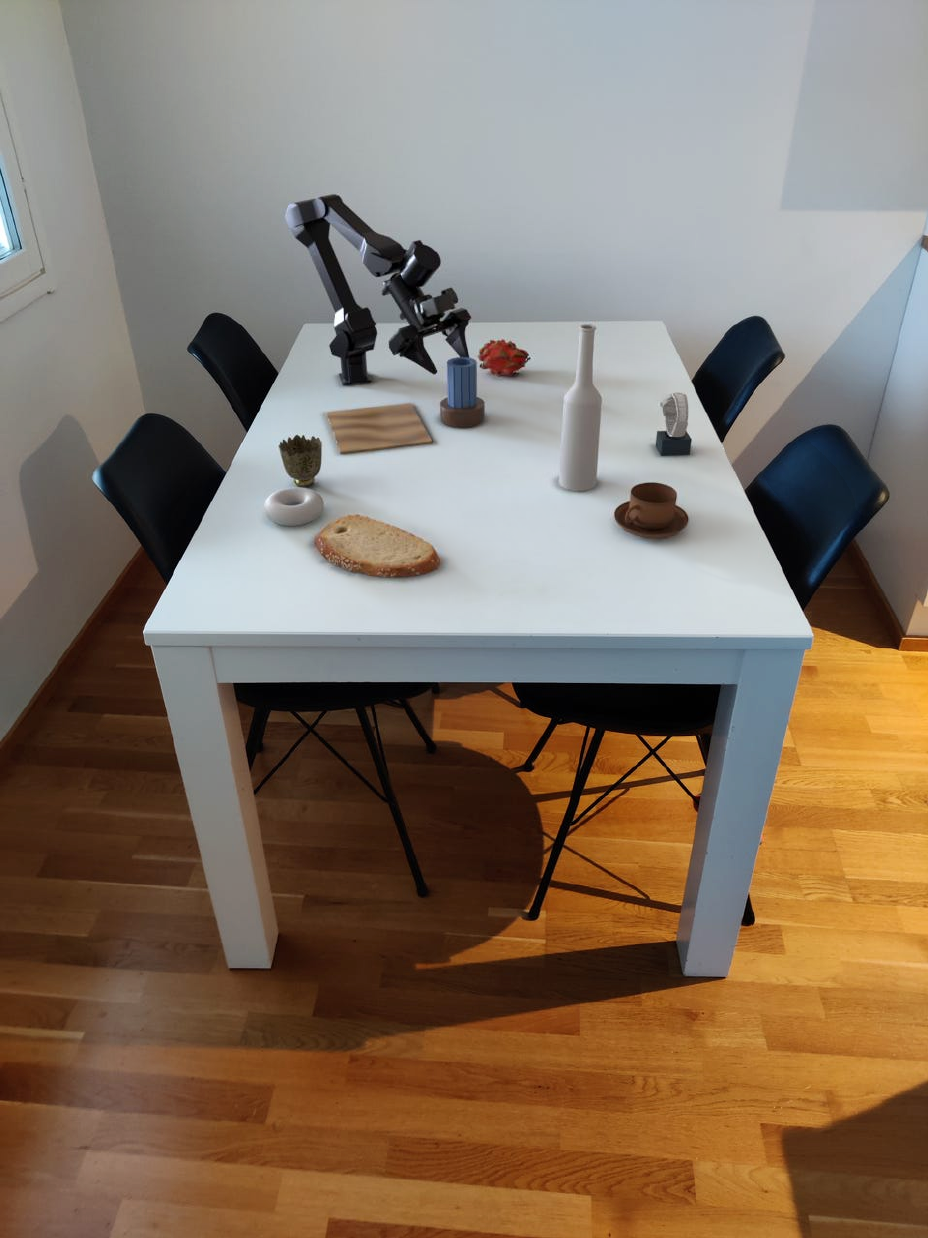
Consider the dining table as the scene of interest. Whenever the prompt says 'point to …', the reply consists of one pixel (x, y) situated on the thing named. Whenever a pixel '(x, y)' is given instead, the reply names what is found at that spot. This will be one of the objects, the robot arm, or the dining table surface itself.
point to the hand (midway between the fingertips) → (452, 367)
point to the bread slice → (375, 548)
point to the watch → (674, 426)
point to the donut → (293, 506)
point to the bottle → (581, 422)
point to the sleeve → (462, 382)
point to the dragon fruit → (502, 357)
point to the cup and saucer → (651, 511)
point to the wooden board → (377, 428)
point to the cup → (302, 459)
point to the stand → (462, 414)
